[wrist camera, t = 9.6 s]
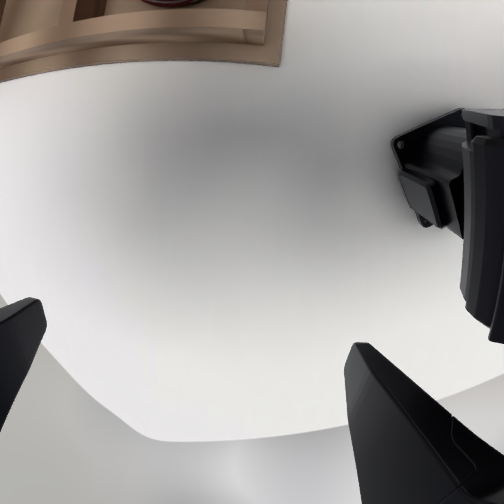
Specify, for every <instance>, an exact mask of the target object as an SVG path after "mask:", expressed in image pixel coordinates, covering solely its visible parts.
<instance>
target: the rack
mask: <svg viewBox="0 0 504 504" xmlns="http://www.w3.org/2000/svg"><path fill="white" fill-rule="evenodd" d="M286 5H287V0H198V1H195V2H192V3H189V4H185V5H180V6H172V7H160V6H154V5H150V4H147V3H145V2H143V1H141V0H0V83H1V82H5V81H9V80H13V79H17V78H21V77H26V76H31V75H35V74H40V73H45V72H51V71H57V70H63V69H69V68H76V67H83V66H91V65H100V64H111V63H123V62H138V61H169V60H189V61H220V62H236V63H248V64H259V65H268V66H276V67H279V65H280V57H281V48H282V40H283V31H284V23H285V14H286Z"/></svg>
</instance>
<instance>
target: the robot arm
mask: <svg viewBox="0 0 504 504" xmlns="http://www.w3.org/2000/svg"><path fill="white" fill-rule="evenodd" d="M461 114H462V116H463V119H462V117H461ZM398 141H401V142H402V146H401V147H400V148H398V146H397V143H398ZM391 146H392V149H393V151H394V154H395V156H396V159H397V161H398V164H399V166H400V169H401V170H399V177H400V180H401V183H402V186H403V188H404V191H405V194H406V197H407V200H408V202H409V205H410V208H412V209H413V210H415V212H416V215H417V218H418V221H419V223H420V224H421V225H422V226H423V227H426V228H427V227H430V226H431V225H433V224H434V225H435V226H436V227H438V228H440V229H442V228H444V227H447V228H449V229H450V230H451V231H453V232H454V233H455V234H457V235H458V236H459V237H461V238H462V239H464V243H463V259H462V271H461V281H460V289H461V292H462V294H463V297H464V299H465V301H466V306H465V308H466V310H467V311H468V312H469V313H470V314H471V315H472V316H473V317H474V318H475V319H476V320H478V321H479V322H481V323H482V324H483V325H485V326H486V327H488V328H490V332H489V336H488V339H489V340H490V341H491V342H496V343H501V344H504V109H464V108H459V109H456V110H454V111H452V112H449V113H447V114H445V115H443V116H440V117H438V118H436V119H433V120H431V121H429V122H427V123H424V124H422V125H420V126H418V127H416V128H413V129H411V130H409V131H407V132H405V133H402V134H400V135H398V136H396V137H394V138H393V139H392V141H391ZM424 219H427V221H426V222H424ZM46 327H47V321H46V317H45V314H44V310H43V306H42V303H41V301H40V300H39V299H35V298H31V297H28V298H25V299H23V300H20V301H17V302H15V303H12V304H10V305H7V306H5V307H3V308H0V432H1V429H2V427H3V424H4V422H5V420H6V417H7V415H8V413H9V411H10V409H11V406H12V404H13V402H14V400H15V398H16V396H17V394H18V391H19V389H20V387H21V385H22V383H23V381H24V379H25V377H26V375H27V373H28V371H29V369H30V367H31V364H32V362H33V359H34V357H35V354H36V352H37V350H38V347H39V345H40V342H41V340H42V338H43V335H44V333H45V331H46ZM344 377H345V389H346V402H347V415H348V423H349V429H350V434H351V440H352V445H353V451H354V457H355V463H356V468H357V475H358V481H359V487H360V494H361V501H362V504H504V455H503V454H501V453H500V452H498V451H497V450H496V449H494V448H493V447H491V446H490V445H489V444H487V443H486V442H485V441H483V440H482V439H481V438H479V437H478V436H476V435H475V434H474V433H473V432H472V431H471V430H469V429H468V428H467V427H466V426H464V425H463V424H462V423H461V422H460V421H458V420H457V419H456V418H455V417H454V416H452V415H451V414H450V413H449V412H448V411H447V410H446V409H445V408H444V407H442V406H441V405H440V404H439V403H438V402H437V401H435V400H434V399H433V398H432V397H431V396H430V395H429V394H427V393H426V392H425V391H424V390H423V389H422V388H420V387H419V386H418V385H417V384H416V383H415V382H414V381H412V380H411V379H410V378H409V377H408V376H407V375H405V374H404V373H403V372H402V371H401V370H400V369H398V368H397V367H396V366H395V365H394V364H393V363H391V362H390V361H389V360H388V359H387V358H386V357H385V356H383V355H382V354H381V353H380V352H379V351H378V350H376V349H375V348H374V347H373V346H372V345H371V344H369V343H364V342H356V343H354V344H353V345H352V347H351V350H350V353H349V355H348V358H347V361H346V363H345V367H344Z"/></svg>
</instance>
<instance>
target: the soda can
mask: <svg viewBox="0 0 504 504" xmlns="http://www.w3.org/2000/svg"><path fill="white" fill-rule="evenodd" d="M141 1H143V2H145V3H147V4H150V5H154V6H160V7H172V6H180V5H185V4H189V3H192V2H195V1H198V0H141Z"/></svg>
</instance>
